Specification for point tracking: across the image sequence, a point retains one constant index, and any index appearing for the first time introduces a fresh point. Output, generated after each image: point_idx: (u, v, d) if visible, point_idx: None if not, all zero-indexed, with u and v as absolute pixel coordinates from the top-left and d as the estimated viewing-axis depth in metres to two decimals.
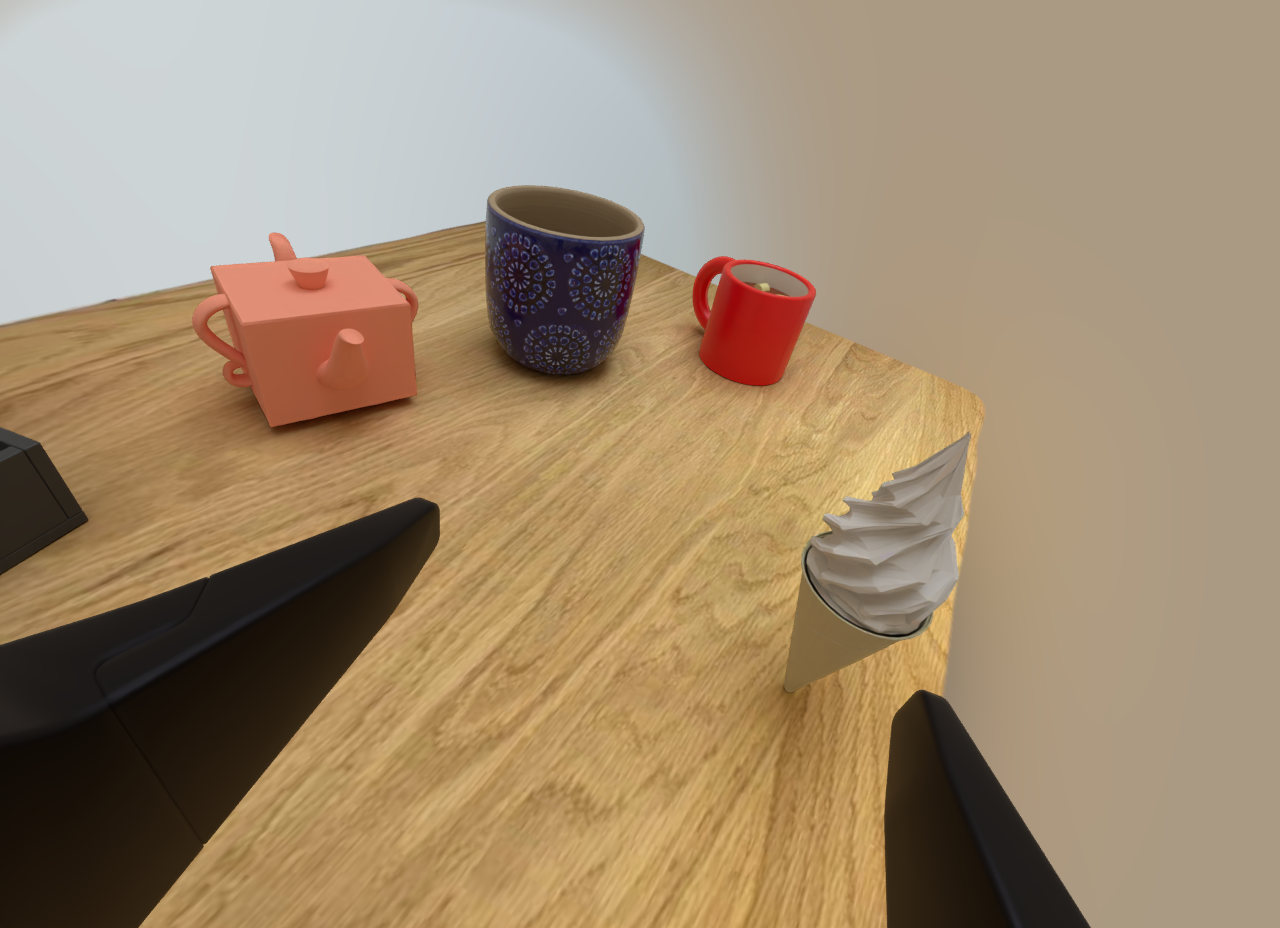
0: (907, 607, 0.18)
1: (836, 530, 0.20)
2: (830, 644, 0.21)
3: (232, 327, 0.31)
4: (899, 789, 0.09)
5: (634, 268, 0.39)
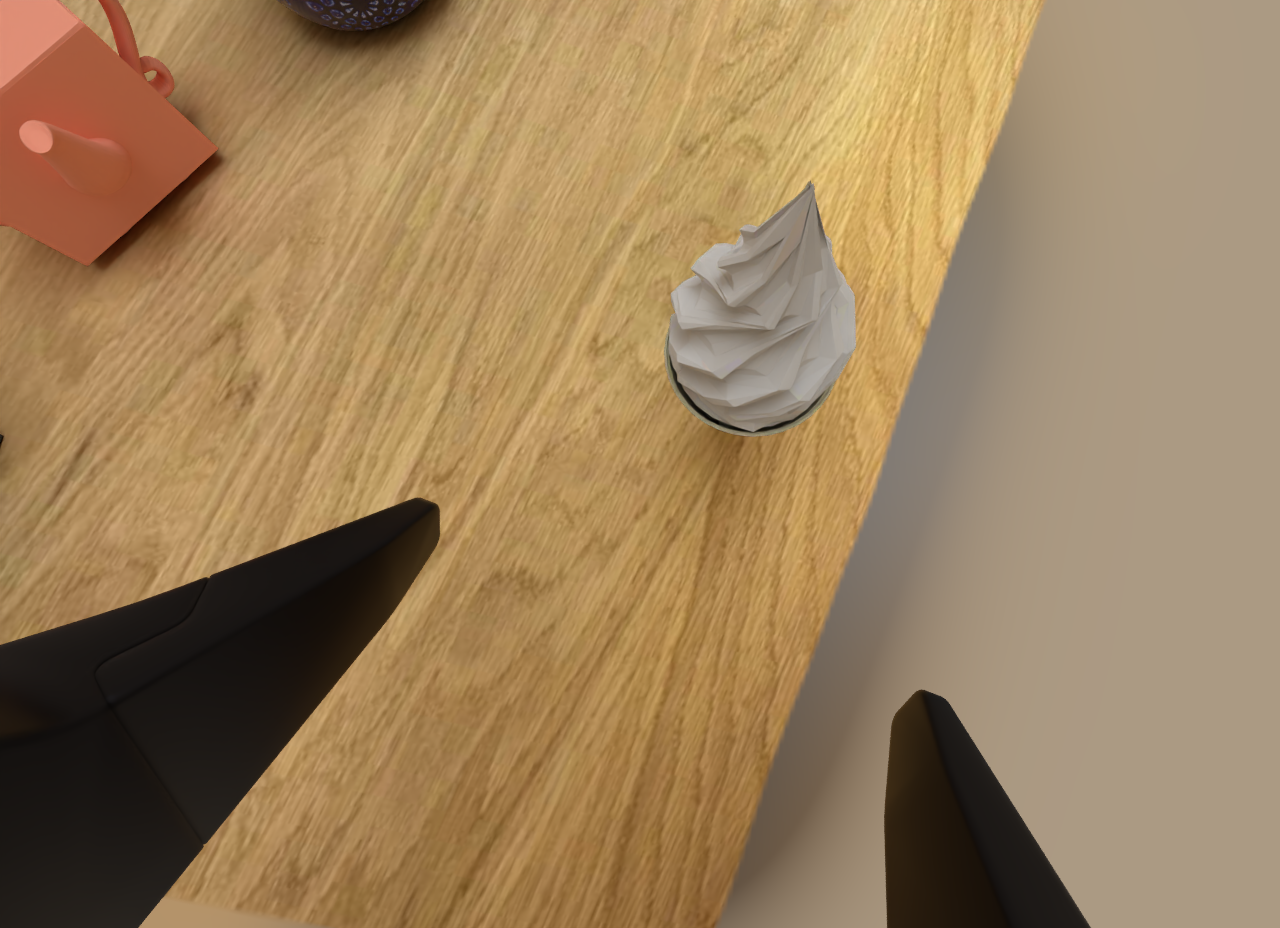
0: (776, 409, 0.14)
1: None
2: None
3: None
4: (899, 789, 0.09)
5: None
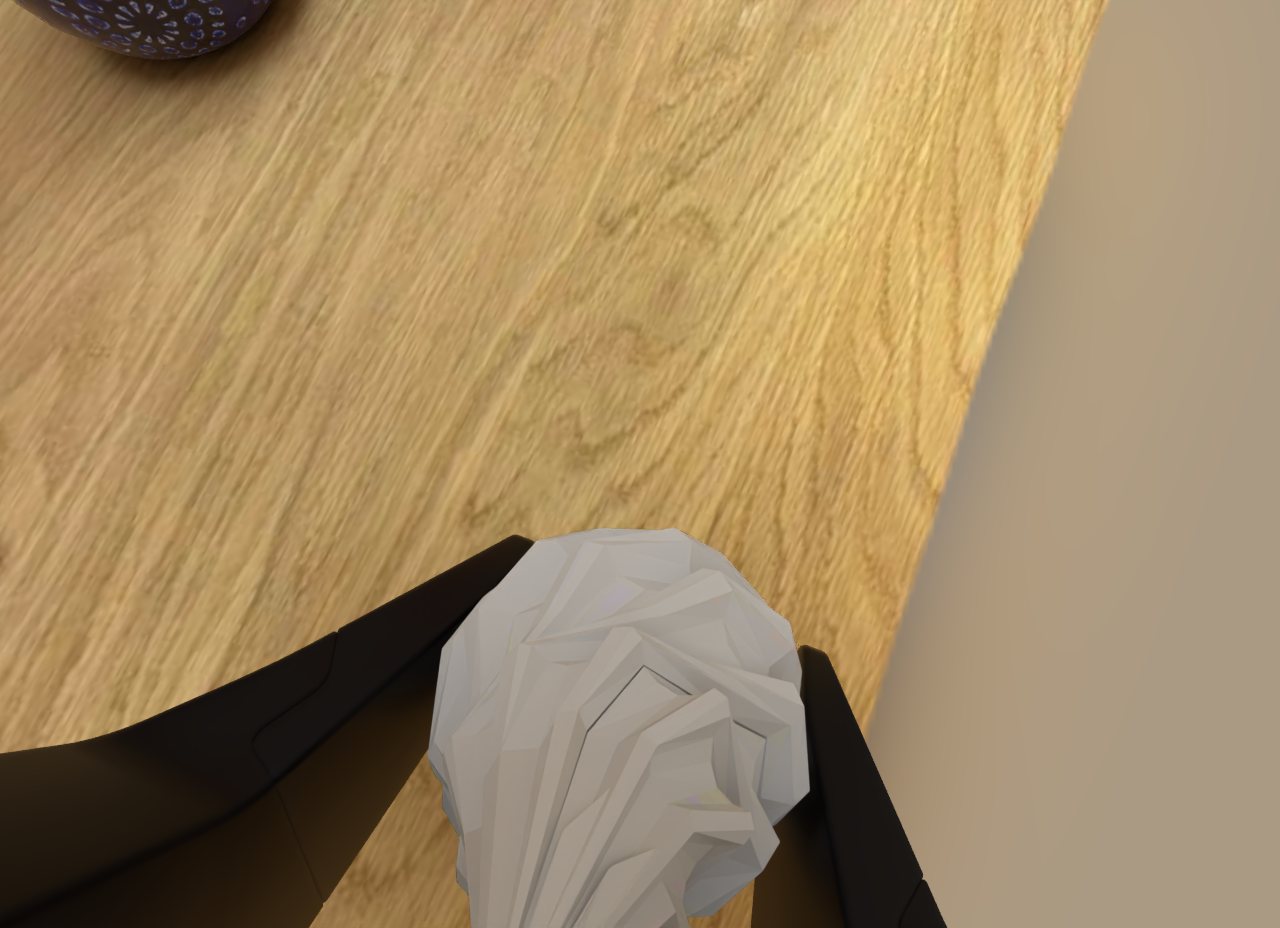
0: None
1: None
2: None
3: None
4: None
5: None
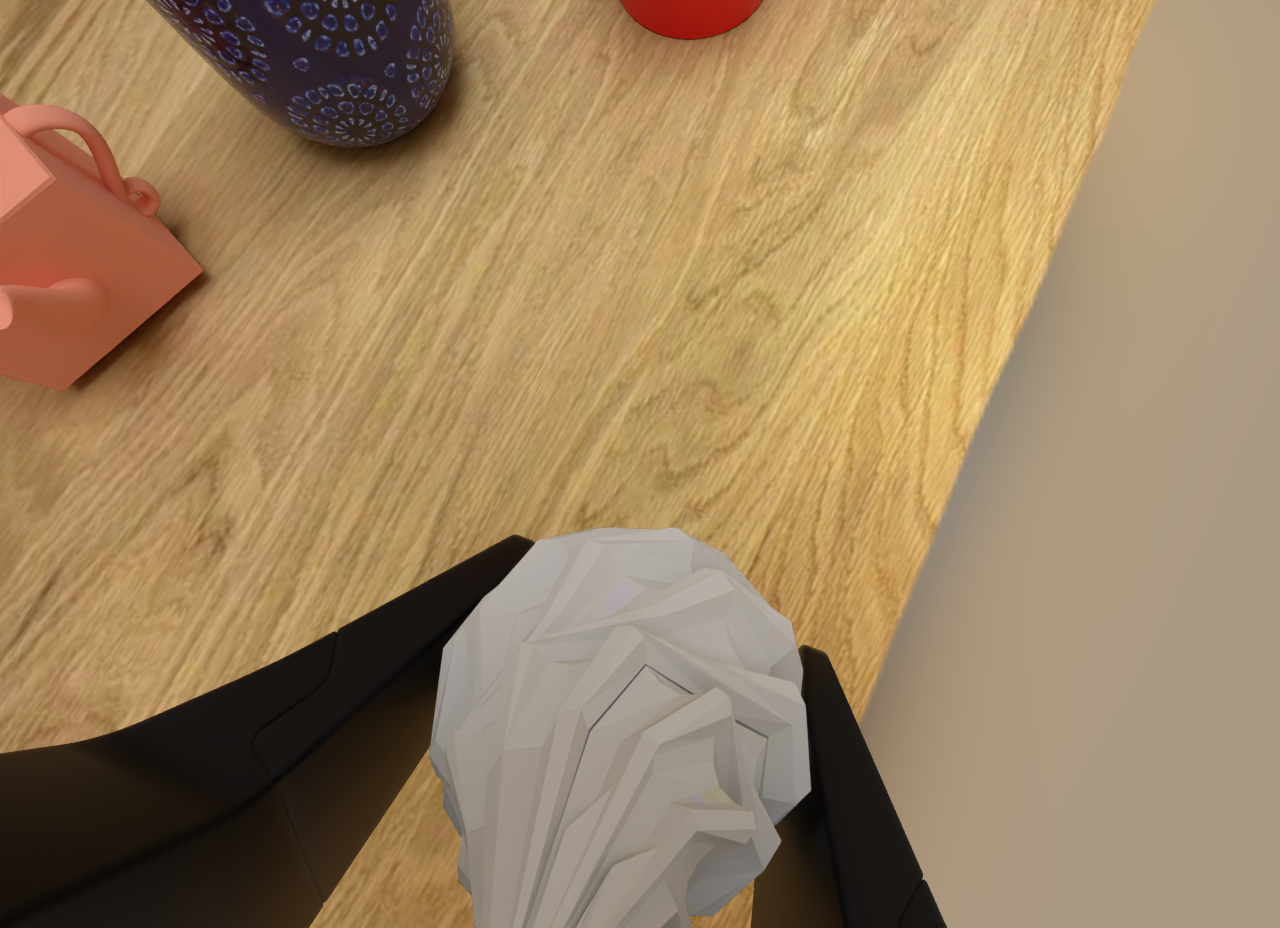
0: None
1: None
2: None
3: None
4: None
5: None
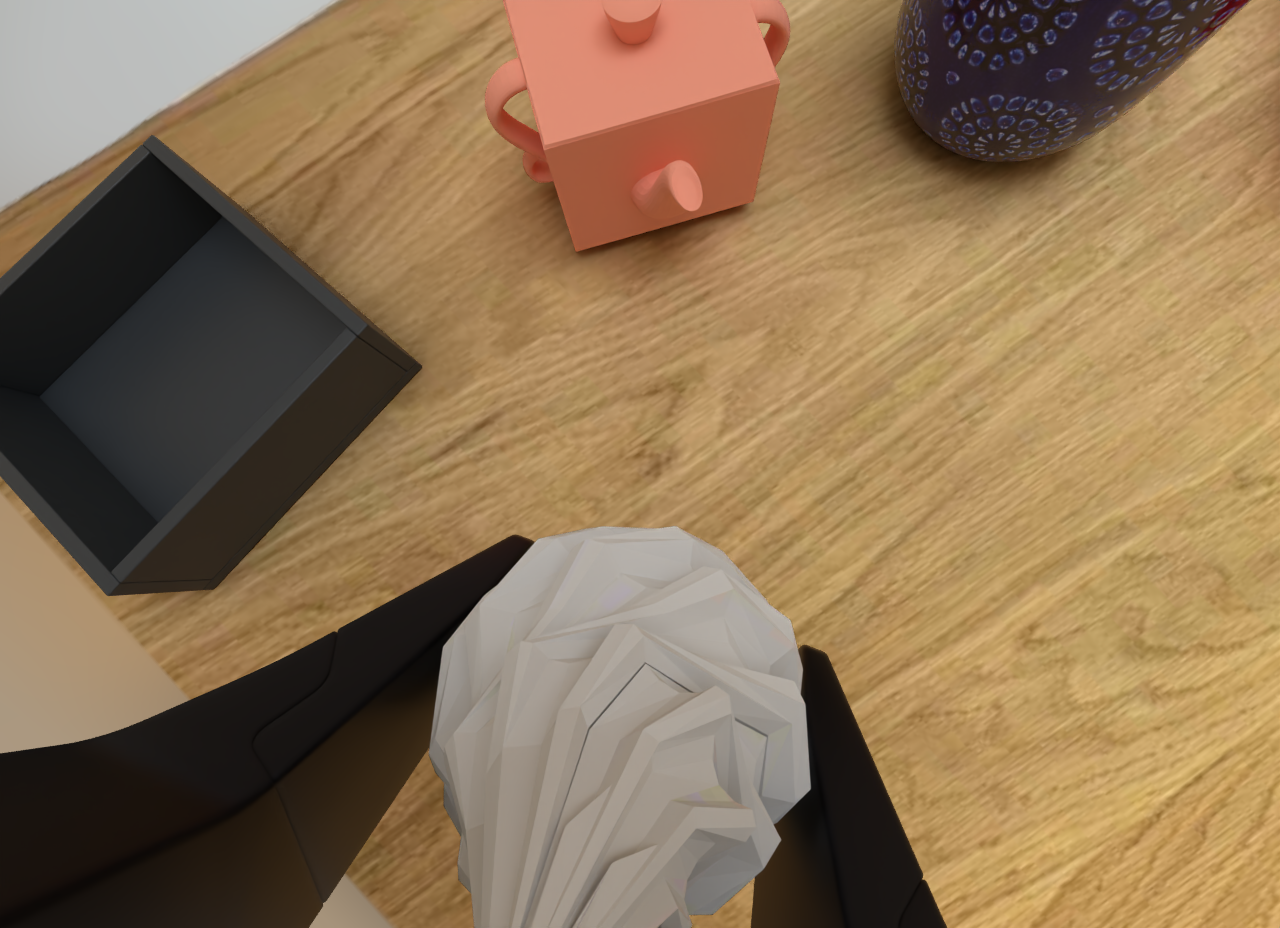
0: None
1: None
2: None
3: None
4: None
5: None
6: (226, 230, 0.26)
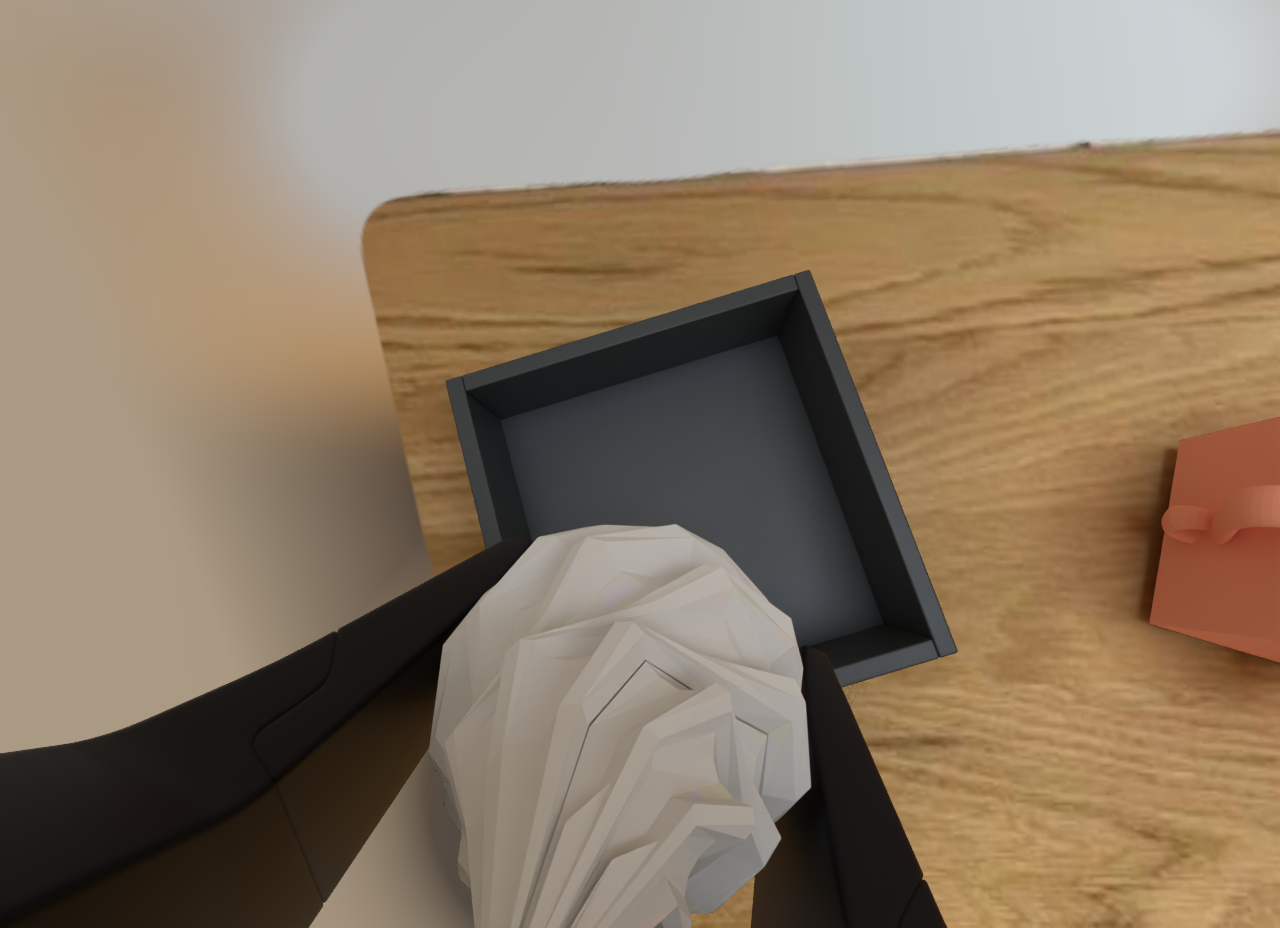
0: None
1: None
2: None
3: None
4: None
5: None
6: (767, 355, 0.23)
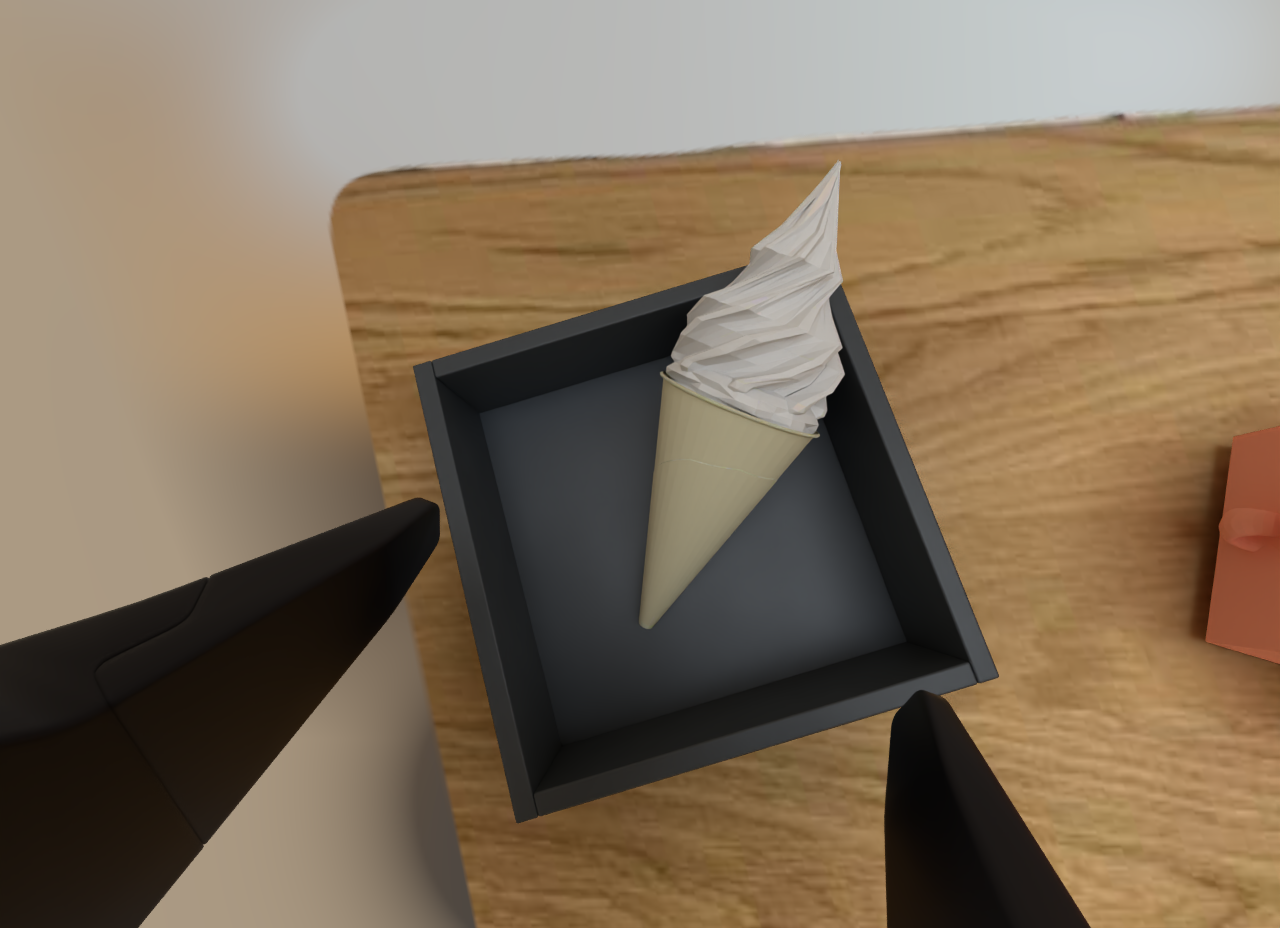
0: (787, 371, 0.14)
1: None
2: (694, 471, 0.15)
3: None
4: (899, 789, 0.09)
5: None
6: None
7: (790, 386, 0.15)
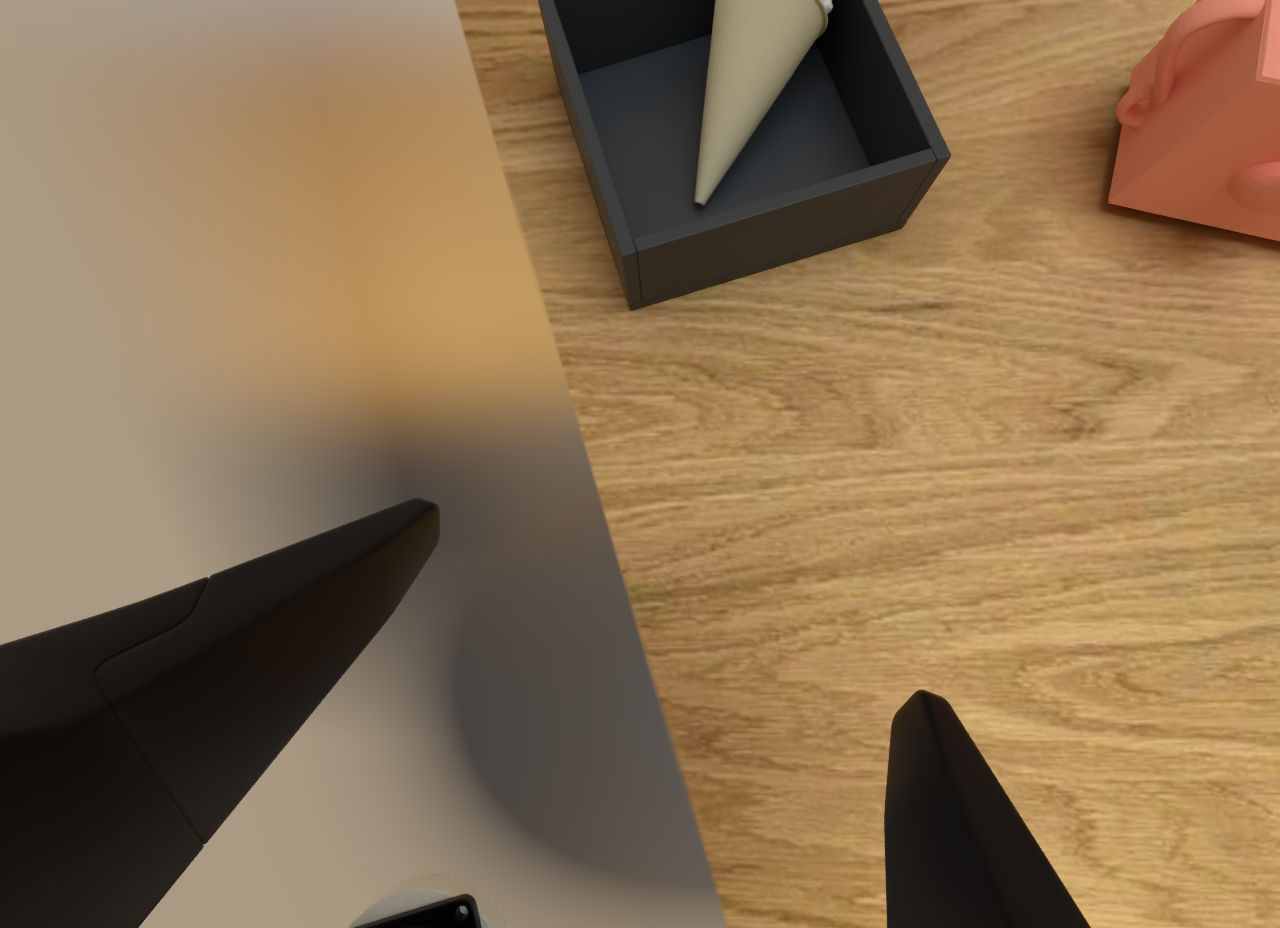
0: None
1: None
2: (741, 34, 0.22)
3: (1204, 34, 0.21)
4: (899, 789, 0.09)
5: None
6: None
7: None
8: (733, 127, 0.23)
